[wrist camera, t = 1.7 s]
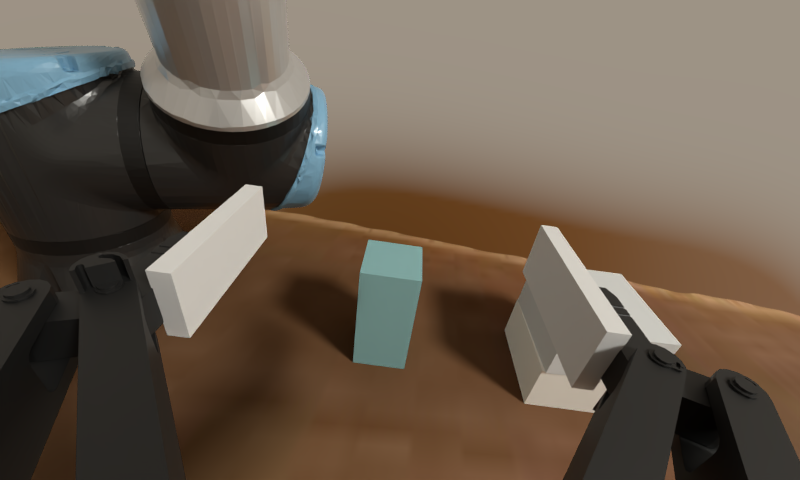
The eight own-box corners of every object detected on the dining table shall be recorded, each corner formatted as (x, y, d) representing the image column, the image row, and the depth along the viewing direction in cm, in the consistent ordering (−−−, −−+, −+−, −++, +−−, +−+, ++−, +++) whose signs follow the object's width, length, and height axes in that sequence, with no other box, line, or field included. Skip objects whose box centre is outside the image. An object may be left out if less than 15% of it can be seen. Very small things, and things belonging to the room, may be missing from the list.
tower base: (523, 404, 31) (542, 370, 29) (503, 331, 39) (517, 299, 36) (618, 417, 31) (645, 384, 29) (580, 341, 39) (599, 310, 36)
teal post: (352, 362, 33) (359, 272, 27) (361, 323, 37) (368, 239, 31) (404, 368, 33) (422, 281, 27) (406, 330, 37) (422, 247, 31)
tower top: (545, 373, 28) (568, 332, 26) (517, 300, 36) (533, 263, 33) (648, 384, 29) (681, 345, 26) (599, 310, 36) (621, 274, 34)
